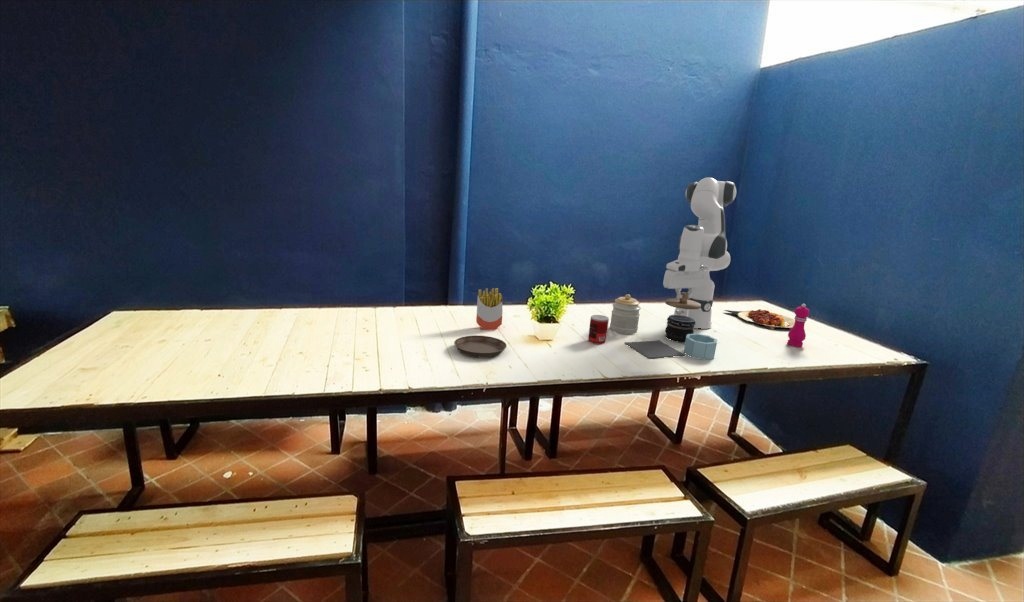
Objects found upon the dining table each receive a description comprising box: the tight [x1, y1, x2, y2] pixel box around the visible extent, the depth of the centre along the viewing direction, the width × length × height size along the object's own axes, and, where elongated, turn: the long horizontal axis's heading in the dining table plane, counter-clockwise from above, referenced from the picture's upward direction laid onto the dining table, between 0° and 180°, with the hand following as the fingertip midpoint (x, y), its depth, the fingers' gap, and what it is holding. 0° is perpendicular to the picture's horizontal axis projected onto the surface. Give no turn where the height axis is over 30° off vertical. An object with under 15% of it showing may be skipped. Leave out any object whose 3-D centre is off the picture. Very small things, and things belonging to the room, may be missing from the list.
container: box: [664, 314, 696, 343], centre depth 237 cm, size 13×13×10 cm
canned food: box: [587, 314, 610, 345], centre depth 225 cm, size 8×8×11 cm
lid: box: [665, 291, 701, 309], centre depth 214 cm, size 14×14×5 cm
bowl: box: [683, 333, 718, 360], centre depth 219 cm, size 12×12×7 cm
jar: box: [609, 293, 642, 335], centre depth 243 cm, size 13×13×18 cm
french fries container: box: [475, 287, 503, 331], centre depth 231 cm, size 5×11×18 cm, turn 106°
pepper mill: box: [787, 303, 811, 348], centre depth 239 cm, size 7×7×20 cm
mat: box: [624, 339, 686, 360], centre depth 221 cm, size 18×18×1 cm
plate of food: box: [723, 308, 795, 331], centre depth 277 cm, size 31×35×7 cm
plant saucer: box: [453, 334, 508, 359], centre depth 206 cm, size 21×21×3 cm
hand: (683, 298), depth 214 cm, fingers closed on lid, 3 cm apart
